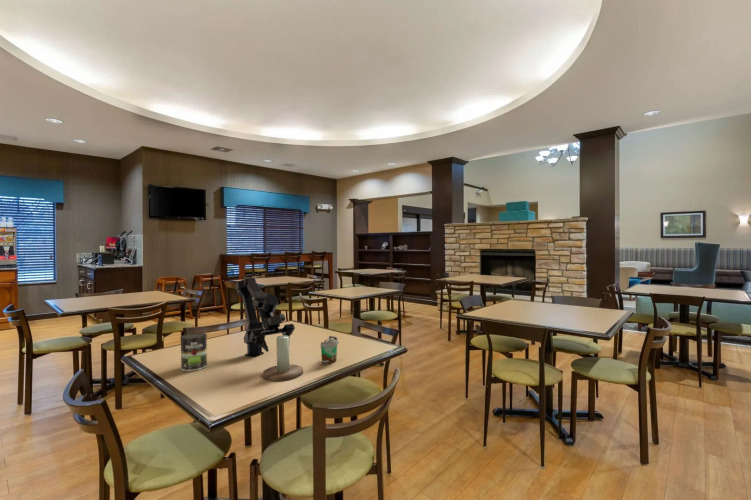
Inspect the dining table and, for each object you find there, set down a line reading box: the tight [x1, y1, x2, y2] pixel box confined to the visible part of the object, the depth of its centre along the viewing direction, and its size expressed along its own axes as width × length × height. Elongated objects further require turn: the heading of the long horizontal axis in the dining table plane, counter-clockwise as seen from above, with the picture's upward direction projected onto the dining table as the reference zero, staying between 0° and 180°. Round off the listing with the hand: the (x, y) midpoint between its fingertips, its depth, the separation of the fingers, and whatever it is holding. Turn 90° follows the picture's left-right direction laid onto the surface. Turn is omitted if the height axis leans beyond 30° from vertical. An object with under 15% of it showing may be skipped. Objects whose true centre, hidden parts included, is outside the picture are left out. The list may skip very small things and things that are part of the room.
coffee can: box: [180, 332, 208, 372], centre depth 157 cm, size 10×10×14 cm
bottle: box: [276, 335, 290, 373], centre depth 148 cm, size 5×5×14 cm
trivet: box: [262, 363, 304, 382], centre depth 148 cm, size 16×16×1 cm
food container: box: [320, 335, 340, 365], centre depth 163 cm, size 12×6×10 cm, turn 168°
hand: (278, 349), depth 152 cm, fingers open, 9 cm apart
